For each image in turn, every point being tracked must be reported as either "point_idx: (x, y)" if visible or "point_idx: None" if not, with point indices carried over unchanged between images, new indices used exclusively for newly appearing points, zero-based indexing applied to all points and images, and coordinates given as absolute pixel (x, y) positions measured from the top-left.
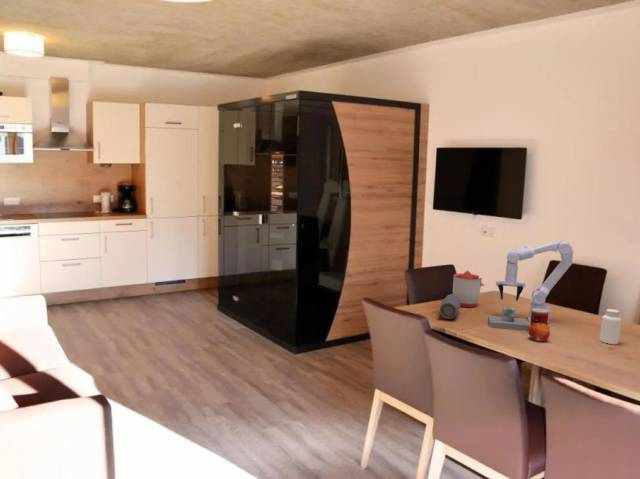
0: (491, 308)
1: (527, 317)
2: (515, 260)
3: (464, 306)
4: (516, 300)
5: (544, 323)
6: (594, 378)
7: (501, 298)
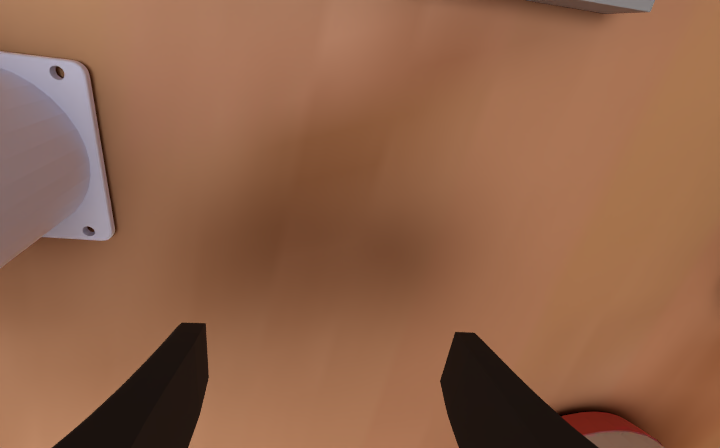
0: (396, 436)
1: (111, 225)
2: None
3: (604, 413)
4: (205, 330)
5: None
6: None
7: (484, 343)
